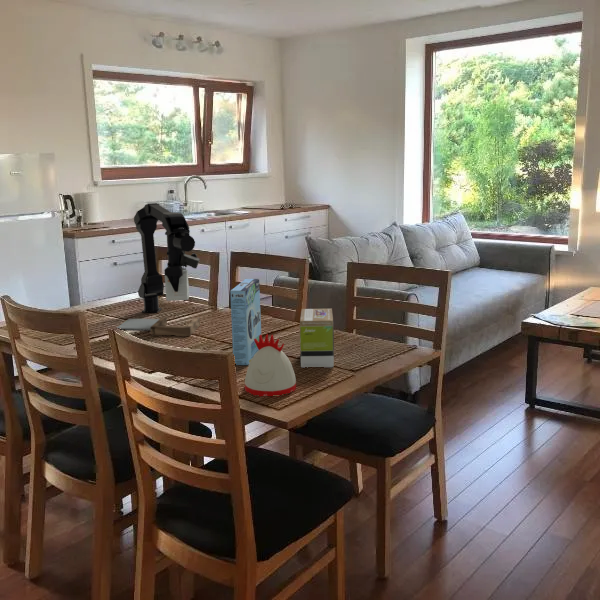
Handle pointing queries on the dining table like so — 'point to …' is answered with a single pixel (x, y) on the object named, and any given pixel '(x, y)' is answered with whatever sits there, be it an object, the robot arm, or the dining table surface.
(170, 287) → the small box
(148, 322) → the slate mat
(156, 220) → the robot arm
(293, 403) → the dining table surface
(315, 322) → the tea box
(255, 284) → the blue thin cardboard box
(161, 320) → the walnut bay
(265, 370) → the kitchen timer
